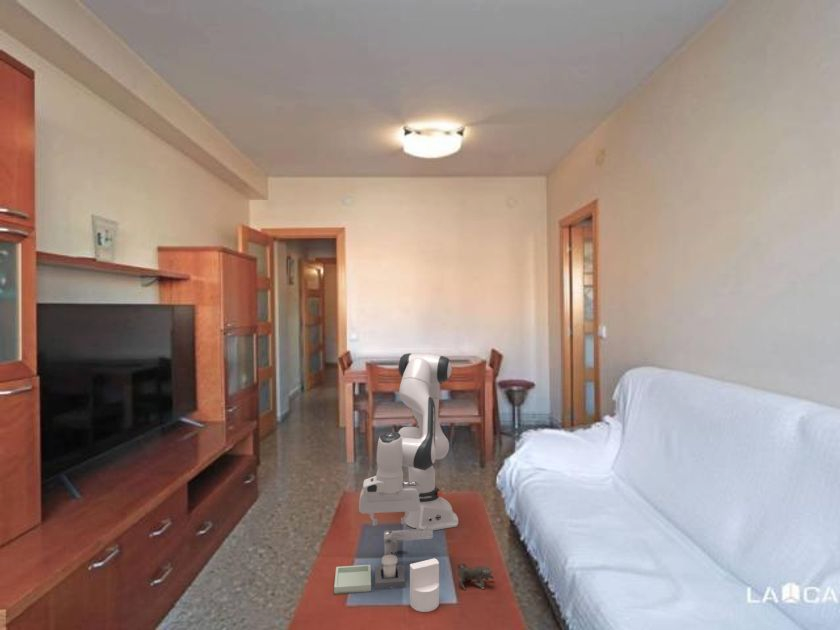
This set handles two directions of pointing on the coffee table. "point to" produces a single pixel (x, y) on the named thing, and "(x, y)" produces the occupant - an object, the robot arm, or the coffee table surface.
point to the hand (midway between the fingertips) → (389, 524)
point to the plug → (389, 566)
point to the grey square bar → (408, 534)
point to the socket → (390, 582)
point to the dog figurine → (473, 575)
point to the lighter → (394, 546)
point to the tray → (352, 579)
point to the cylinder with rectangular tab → (424, 585)
